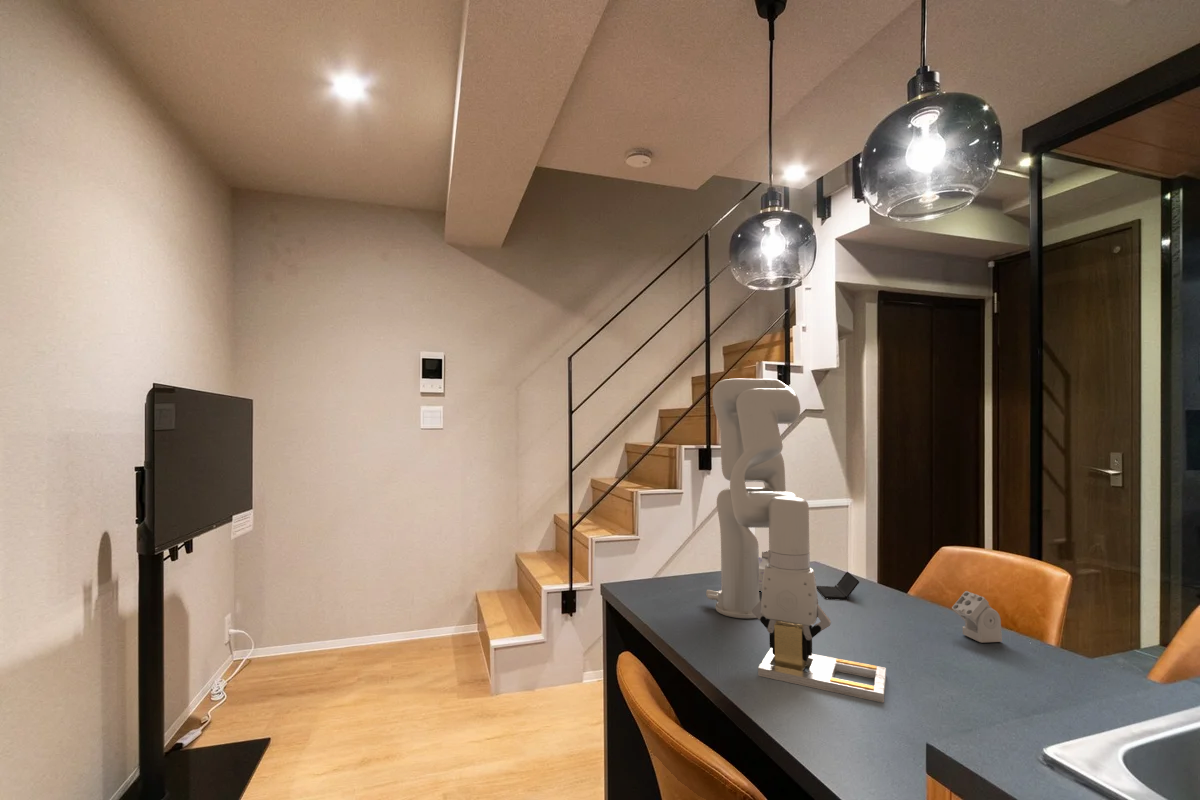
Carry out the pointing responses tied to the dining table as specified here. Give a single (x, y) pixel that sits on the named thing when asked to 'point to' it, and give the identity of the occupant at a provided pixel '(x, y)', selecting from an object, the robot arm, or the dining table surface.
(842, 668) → the white flat frame
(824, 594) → the handheld gaming console
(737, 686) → the dining table surface
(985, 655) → the dining table surface
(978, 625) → the mechanical component
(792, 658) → the brass block
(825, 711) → the dining table surface
